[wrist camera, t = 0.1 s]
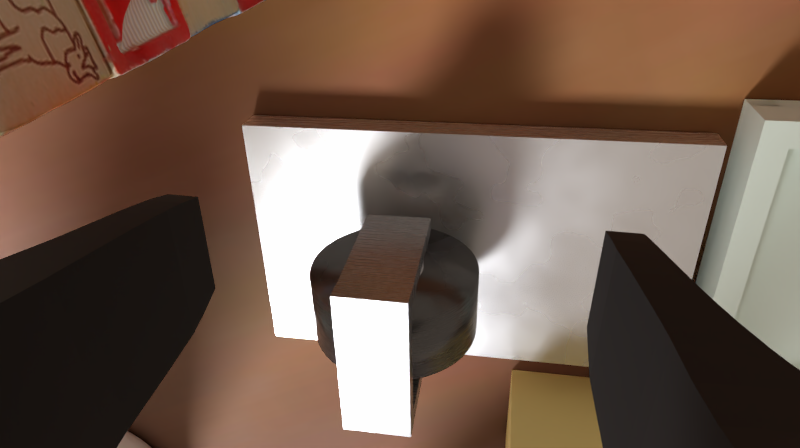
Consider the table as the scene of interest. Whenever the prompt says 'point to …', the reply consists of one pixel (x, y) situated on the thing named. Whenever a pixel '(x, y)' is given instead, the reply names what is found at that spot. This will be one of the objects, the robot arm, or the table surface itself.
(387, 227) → the trolley wheel
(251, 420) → the table surface
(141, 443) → the vodka
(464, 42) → the table surface
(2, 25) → the stack of blocks
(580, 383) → the pale yellow cube
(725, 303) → the tray
